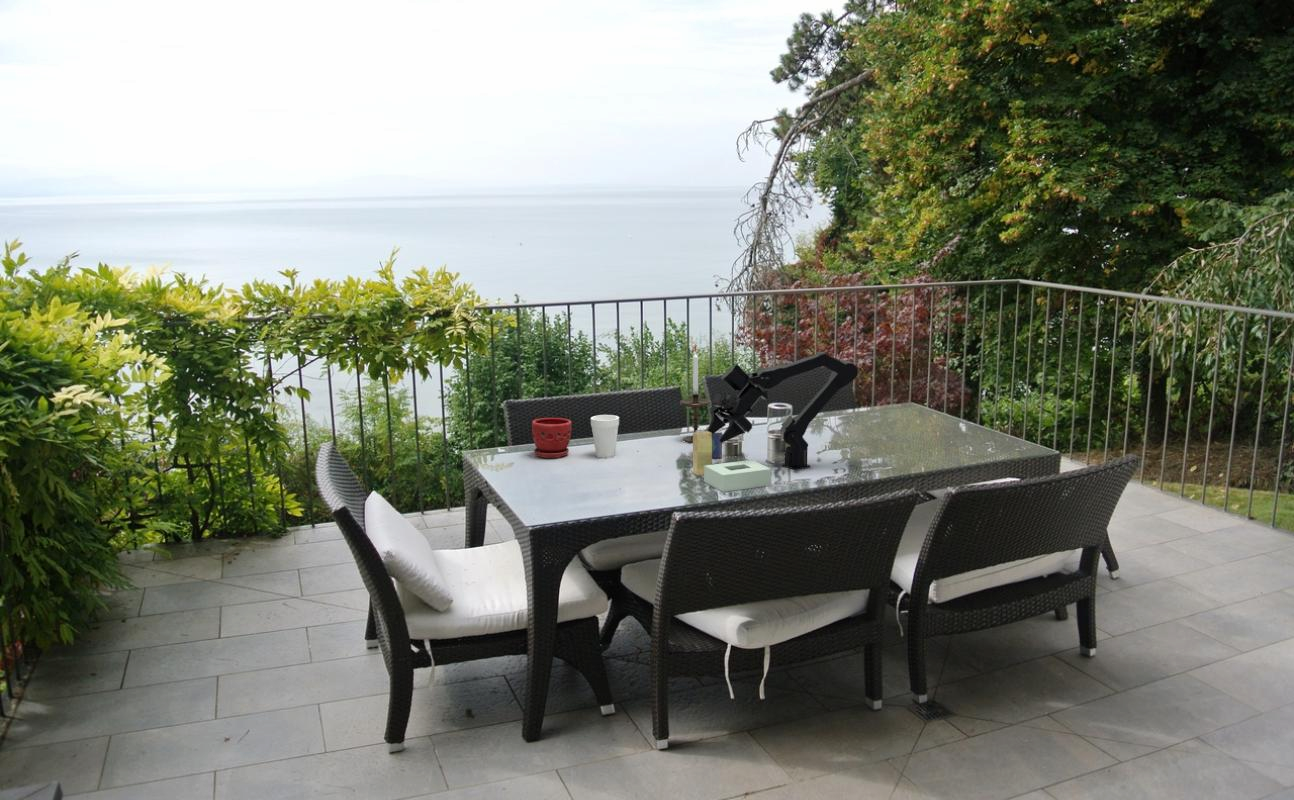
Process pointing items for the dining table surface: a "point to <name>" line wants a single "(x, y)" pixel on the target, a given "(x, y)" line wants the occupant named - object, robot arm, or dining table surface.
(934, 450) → the dining table surface
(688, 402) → the candlestick
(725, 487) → the coin box
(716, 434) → the flask
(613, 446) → the foam cup
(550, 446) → the plant pot
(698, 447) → the tan rectangular block
